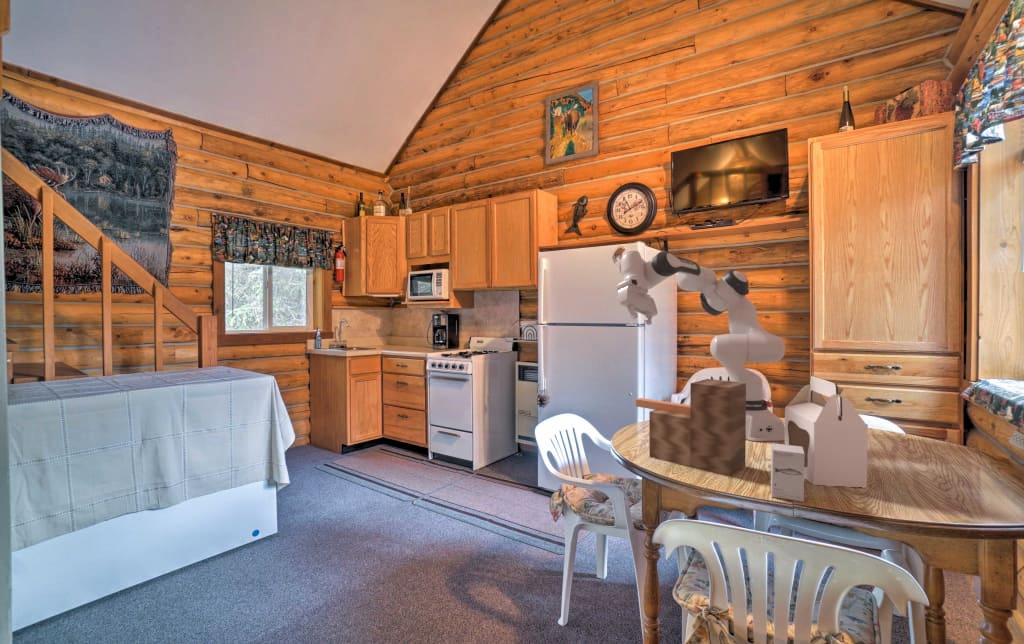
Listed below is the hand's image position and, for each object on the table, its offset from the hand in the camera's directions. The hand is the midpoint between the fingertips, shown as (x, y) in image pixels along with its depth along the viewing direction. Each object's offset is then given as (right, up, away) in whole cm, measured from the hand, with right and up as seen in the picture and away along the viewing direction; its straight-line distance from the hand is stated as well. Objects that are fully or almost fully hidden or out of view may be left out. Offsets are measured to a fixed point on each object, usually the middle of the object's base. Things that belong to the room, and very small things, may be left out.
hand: (641, 321), depth 179 cm
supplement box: (+23, -46, -54) cm, 75 cm away
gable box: (+43, -45, -38) cm, 73 cm away
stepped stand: (+11, -45, -27) cm, 54 cm away
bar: (+3, -30, -19) cm, 36 cm away
